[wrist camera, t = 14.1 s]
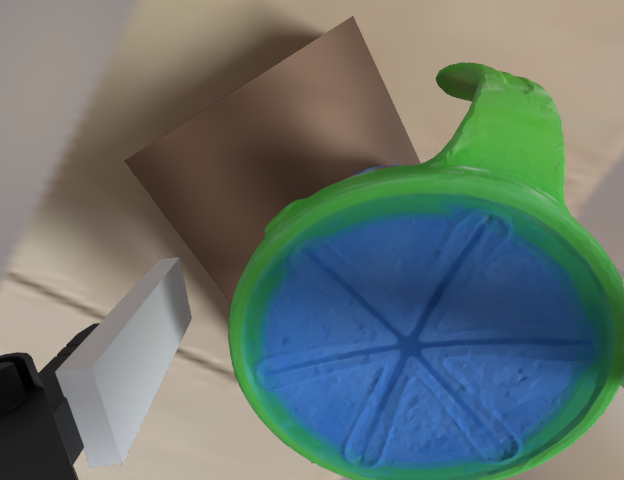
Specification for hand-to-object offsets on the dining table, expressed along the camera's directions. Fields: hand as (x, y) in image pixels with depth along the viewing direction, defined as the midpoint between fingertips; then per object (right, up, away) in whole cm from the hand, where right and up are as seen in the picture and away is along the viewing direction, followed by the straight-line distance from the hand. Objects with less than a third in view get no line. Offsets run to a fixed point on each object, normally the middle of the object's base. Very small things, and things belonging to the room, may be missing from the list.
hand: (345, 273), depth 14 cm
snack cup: (+3, +2, +5) cm, 6 cm away
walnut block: (-1, +3, +10) cm, 10 cm away
